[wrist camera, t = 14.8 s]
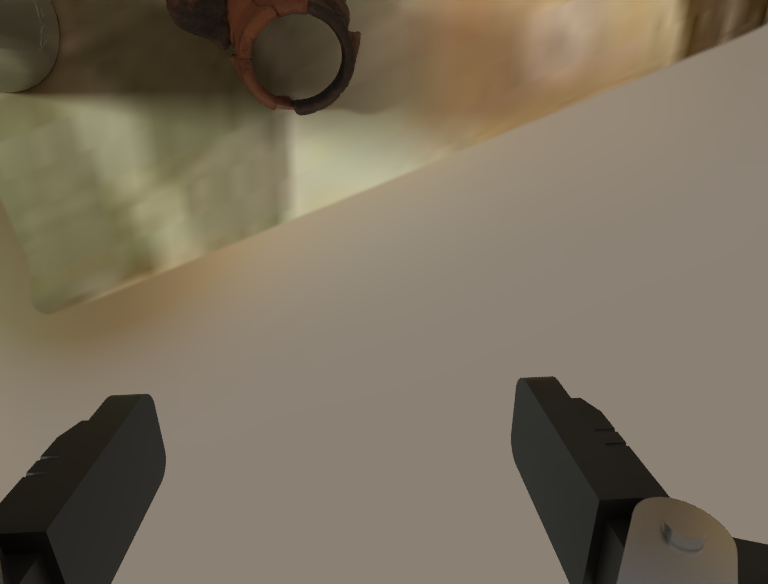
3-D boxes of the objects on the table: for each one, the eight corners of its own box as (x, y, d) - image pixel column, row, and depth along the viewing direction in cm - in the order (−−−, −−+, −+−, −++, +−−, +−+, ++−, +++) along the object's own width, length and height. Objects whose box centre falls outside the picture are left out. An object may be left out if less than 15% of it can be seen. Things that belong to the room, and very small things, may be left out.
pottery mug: (352, -54, 33) (381, -10, 28) (333, 80, 40) (354, 135, 35) (161, -89, 29) (155, -46, 24) (177, 66, 36) (174, 125, 31)
